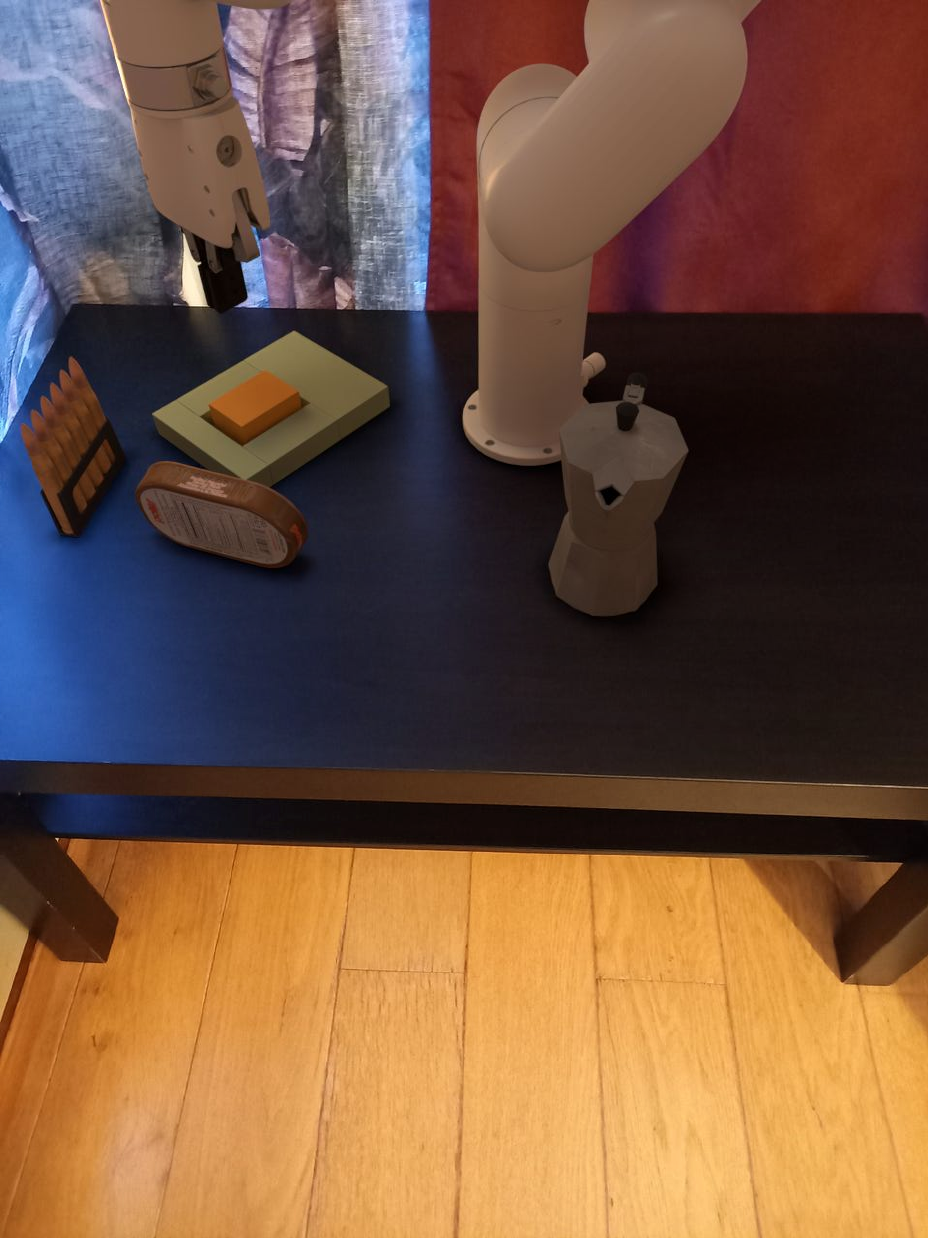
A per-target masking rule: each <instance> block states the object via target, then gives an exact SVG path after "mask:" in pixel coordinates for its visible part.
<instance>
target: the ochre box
mask: <svg viewBox="0 0 928 1238" xmlns="http://www.w3.org/2000/svg"><path fill="white" fill-rule="evenodd" d="M209 408H210V412H211V415H212V419H213V422H214V426H215V428H216V429H218V430H219V431H220V432H222V433H223V434H225V435H226V436H228V437H229V438H230V439H232V440H233V441H235V442H236V443H238V444H239V445H240V446H242V447H243V446H244V445H245V444H247V443H249V442H250V441H252V440H253V439H255V438H256V437H258V436H260V435H261V434H263V433H264V432H266V431H267V430H269V429H271V428H272V427H274V426H275V425H277V424H278V423H280V422H282V421H283V420H285V419H286V418H288V417H289V416H291V415H293V414H294V413H296V412H297V411H299V410H300V409H302V405H301V400H300V394H299V391H298V390H296V389H295V388H293V387H291V386H290V385H288V384H287V383H285V382H284V381H282V380H280V379H279V378H277V377H276V376H274V375H272V374H271V373H269V372H268V371H266V370H265V371H263V372H261V373H260V374H258V375H256V376H255V377H253V378H251V379H249V380H248V381H246V382H244V383H243V384H241V385H239V386H238V387H236V388H234V389H233V390H231V391H229V392H228V393H226V394H224V395H223V396H221V397H219V398H218V399H216V400H214V401H213V402H211V403H209Z"/></svg>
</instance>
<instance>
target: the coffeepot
mask: <svg viewBox="0 0 928 1238" xmlns="http://www.w3.org/2000/svg"><path fill="white" fill-rule="evenodd" d="M647 388H648V379H647V377H646V375H644V374H643V373H642V372H633V373H630V375H628V377H627V382H626V385H625V387H624V392H623V396H622V400H615V401H604V402H594V403H589V404H585V405H584V406H583V407H582V408H581V409H580V410H579V411H578V412H577V413H576V414H575V415H574V416H572V417H571V418H570V419H569V420H568V421H567V422H566V423H565V424H564V425H563V426H562V427H561V428H560V429H559V440H560V450H561V460H560V461H561V469H562V470H561V471H562V478H563V479H562V480H563V491H564V497H565V503H566V507H567V510H568V511H567V513H566V514H565V516H564V517H563V520H562V523H561V526H560V529H559V532H558V534H557V537H556V541H555V543H554V546H553V550H552V552H551V555H550V557H549V560H548V564H547V565H548V569H549V575H550V578H551V583H552V587H553V589H554V593H555V596H556V597H557V598H558V599H559V600H561V601H562V602H563V603H565V604H566V605H568V606H570V607H571V608H573V609H574V610H577V611H579V612H581V613H585V614H587V615H590V616H592V617H615V616H616V617H617V616H620V615H624V614H628V613H632V612H636V611H637V610H638V609H639V608H640V606H642V605H643V604H644V603H645V602H646V601H647V600H648V598H649V596H650V595H651V593H652V592H653V591H654V589H655V588H656V587H657V586H658V555H657V554H658V553H657V552H658V551H657V532H656V527H655V522H656V521H657V520H658V519H659V517H660V516H661V514H662V513H663V511H664V508H665V507H666V504H667V502H668V500H669V498H670V495H671V493H672V490H673V488H674V485H675V484H676V481H677V479H678V476H679V474H680V472H681V470H682V467H683V466H684V465H683V464H684V462H685V460H686V458H687V455H688V454H689V448H688V445H687V443H686V441H685V437H684V436H683V434H682V432H681V428H680V426H679V425H678V422H677V420H676V418H675V417H674V416H671V415H669V414H667V413H664V412H662V411H660V410H657V409H655V408H653V407H651V406H648V405H646V404H643V402H644V399H645V396H646V395H645V394H646V390H647Z"/></svg>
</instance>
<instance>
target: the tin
mask: <svg viewBox="0 0 928 1238" xmlns="http://www.w3.org/2000/svg"><path fill="white" fill-rule="evenodd" d="M134 498H135V502H136V504H137V506H138V508H139V510H140V512H141V513H142V515H143V517H144V518H145V520H146V521H147V523H148V524H149V525H150V526H151V527H152V528H154V530H156V531H157V532H158V533H160V534H161V535H162V536H164V537H166V538H168V539H169V540H171V541H172V542H175V543H177V544H179V545H182V546H184V547H187V548H190V549H194V550H197V551H200V552H201V551H202V552H206V553H209V554H213V555H217V556H220V557H223V558H228V559H230V560H231V559H232V560H235V561H239V562H243V563H246V564H250V565H254V566H258V567H261V568H268V569H280V568H284V567H286V566H288V565H290V564H291V563H292V562H294V560H295V559H296V557H297V556H298V554H299V552H300V551H301V549H302V547H303V546H304V545H305V544H306V542H307V541H308V538H309V527H308V523H307V521H306V519H305V517H304V516H303V514H302V512H301V511H300V510H299V509H298V508H297V506H296V505H295V504H294V503H292V501H290V500H289V499H288V498H286V497H285V496H284V495H283V494H281V493H279V492H278V491H276V490H275V489H273V488H271V487H267V486H264V485H262V484H259V483H256V482H252V481H248V480H244V479H240V478H236V477H232V476H228V475H224V474H220V473H215V472H212V471H209V470H208V469H203V468H200V467H197V466H191V465H188V464H184V463H180V462H176V461H168V460H164V461H157V462H154V463H153V464H150V466H149V467H148V468H147V469H146V471H145V474H144V476H143V477H142V478H141V480H140V482H139V483H138V484H137V486H136V489H135V491H134Z"/></svg>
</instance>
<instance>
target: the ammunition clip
mask: <svg viewBox="0 0 928 1238" xmlns="http://www.w3.org/2000/svg"><path fill="white" fill-rule="evenodd" d="M68 370H69V374H70V375H69V374H68V373H67V372H66V371H65V370H64V369H59V384H60V388H61V389H60V388H59V386H58V385H56V384H55V383H54V382H51V383H50V385H49V391H50V398H51V401H50V400H49V399H48V398H47V397H46V396H44V395H41V397H40V408H41V412H42V415H41V414H40V413H39V412H38V411H37V410H36V409H34V408H33V409H31V410H30V420H31V424H32V428H33V430H32V429H31V428H30V427H29V426H28V425H27V424H26V423H23V422H22V423H21V424H20V433H21V438H22V441H23V444H24V447H25V450H26V452H27V454H28V457H29V459H30V462H31V467H32V470H33V473H34V474H35V476H36V478H37V480H38V482H39V484H40V487H41V490H40V491H39V493H40V495H41V497H42V500H43V502H44V504H45V507H46V508H47V510H48V511H47V512H49V515H50V517H51V519H52V521H53V524H54V526H55V528H56V530H57V533H58V534H59V535H60V536H67V537H73V538H78V537H79V538H80V537H81V535H82V534H83V532H84V531H85V529H86V527H87V525H88V524H89V522H90V520H91V519H92V517H93V515H94V513H95V512H96V510H97V508H98V507H99V505H100V503H101V502H102V500H103V498H105V497H104V496H105V495H106V493H107V491H108V490H109V488H110V487H111V485H112V483H113V481H114V480H115V478H116V477H117V474H118V473H119V472H120V470H121V468H122V466H123V465H124V463H125V461H126V460H127V457H126V454H125V453H124V450H123V447H122V445H121V443H120V440H119V439H118V436H117V433H116V432H115V429H114V426H113V424H112V422H111V419H110V418H109V417H107V416H106V417H105V414H104V411H103V409H102V407H101V404H100V402H99V399H98V397H97V394H96V393H95V391H94V390H93V389H92V387H91V384H90V383H89V380H88V378H87V376H86V374H85V372H84V370H83V369H82V367H81V366H80V364H79V363H78V361H77V360H76V359H75V358H74V357H73V356H69V357H68Z"/></svg>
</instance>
